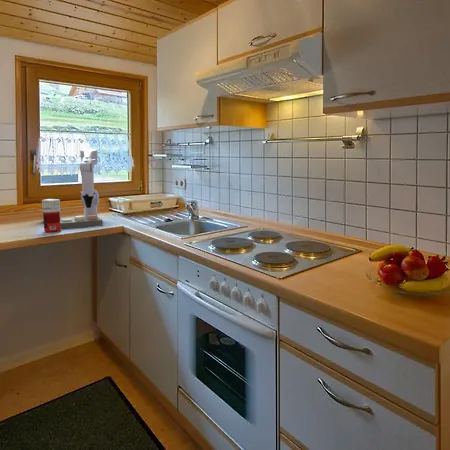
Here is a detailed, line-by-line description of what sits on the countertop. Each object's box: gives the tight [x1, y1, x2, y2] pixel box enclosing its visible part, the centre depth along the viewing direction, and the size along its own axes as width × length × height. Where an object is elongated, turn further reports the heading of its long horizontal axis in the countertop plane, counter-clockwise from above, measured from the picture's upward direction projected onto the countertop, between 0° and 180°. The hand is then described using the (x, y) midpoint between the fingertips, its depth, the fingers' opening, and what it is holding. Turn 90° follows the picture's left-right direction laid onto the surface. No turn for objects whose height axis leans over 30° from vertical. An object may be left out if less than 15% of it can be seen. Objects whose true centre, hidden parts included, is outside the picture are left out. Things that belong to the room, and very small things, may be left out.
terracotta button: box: [88, 214, 98, 220], centre depth 226 cm, size 4×4×3 cm
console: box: [60, 217, 104, 230], centre depth 222 cm, size 12×22×3 cm, turn 122°
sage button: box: [61, 218, 72, 222], centre depth 219 cm, size 4×4×3 cm
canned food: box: [42, 209, 61, 234], centre depth 204 cm, size 8×8×11 cm
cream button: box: [74, 215, 85, 221], centre depth 222 cm, size 4×4×3 cm
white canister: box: [41, 198, 62, 222], centre depth 237 cm, size 7×7×13 cm
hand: (88, 207), depth 226 cm, fingers closed
